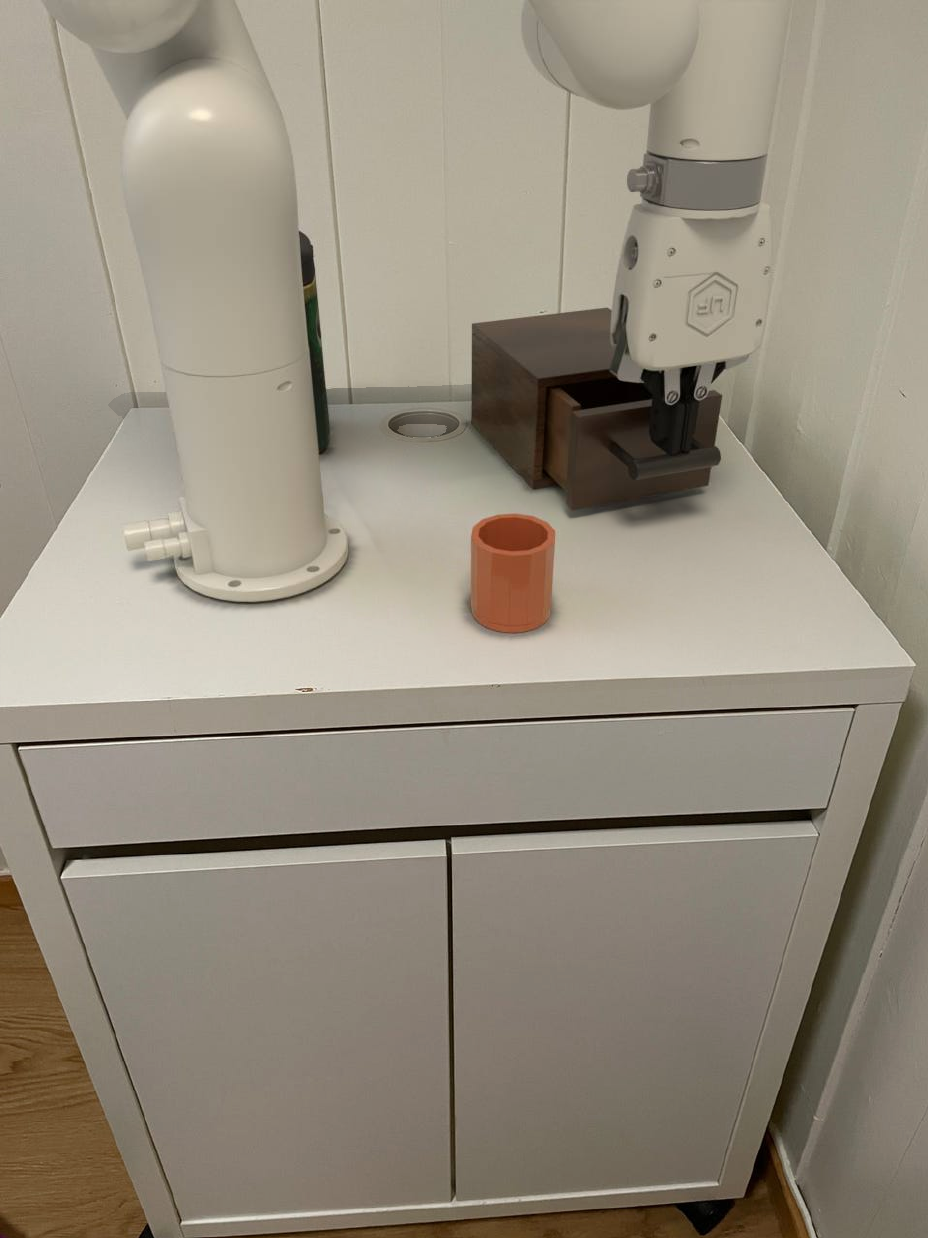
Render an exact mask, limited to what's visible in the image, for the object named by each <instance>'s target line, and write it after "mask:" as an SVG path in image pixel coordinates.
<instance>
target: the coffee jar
mask: <svg viewBox="0 0 928 1238" xmlns="http://www.w3.org/2000/svg"><path fill="white" fill-rule="evenodd" d="M299 241H300V256H301V270H302V282H303V293H304V304H305V314H306V326H307V337H308V346H309V353H310V364H311V375H312V386H313V397H314V408H315V418H316V429H317V440H318V451H319V453H321V452H322V451H323V450H324V449H325V448H326V447H327V445H328V443H329V440H330V435H331V434H330V433H331V430H330V415H329V405H328V394H327V388H326V386H327V385H326V376H325V365H324V364H325V363H324V351H323V343H322V342H323V341H322V331H321V319H320V309H319V307H320V306H319V298H318V287H317V286H318V285H317V276H316V275H317V274H316V267H315V259H314V257H315V255H314V245H313V244H312V243H311V240H310V238H309V237H308V235H306V234H305V233H304V232H302V231H300V230H299Z"/></svg>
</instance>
